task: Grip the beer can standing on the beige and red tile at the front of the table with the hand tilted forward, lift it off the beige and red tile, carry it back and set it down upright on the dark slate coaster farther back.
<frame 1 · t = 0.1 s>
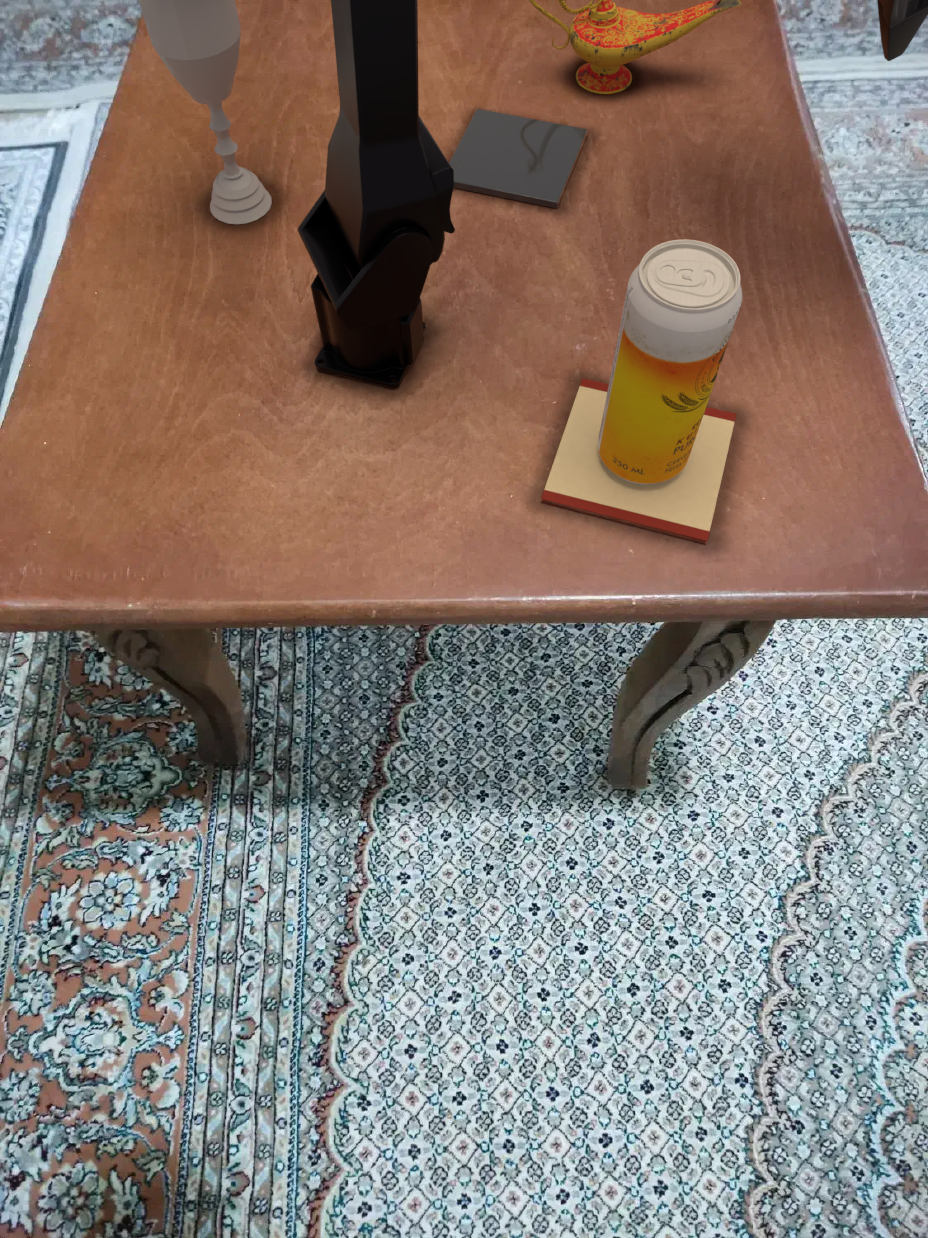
hand: (851, 18, 57), 15 cm above the table, tool pointing down, fingers open, 9 cm apart
beige and red tile: (640, 458, 60), on the table
coaster: (515, 159, 75), on the table
chalice: (241, 205, 73), on the table
magic lamp: (621, 80, 80), on the table
beer can: (641, 456, 60), resting on beige and red tile
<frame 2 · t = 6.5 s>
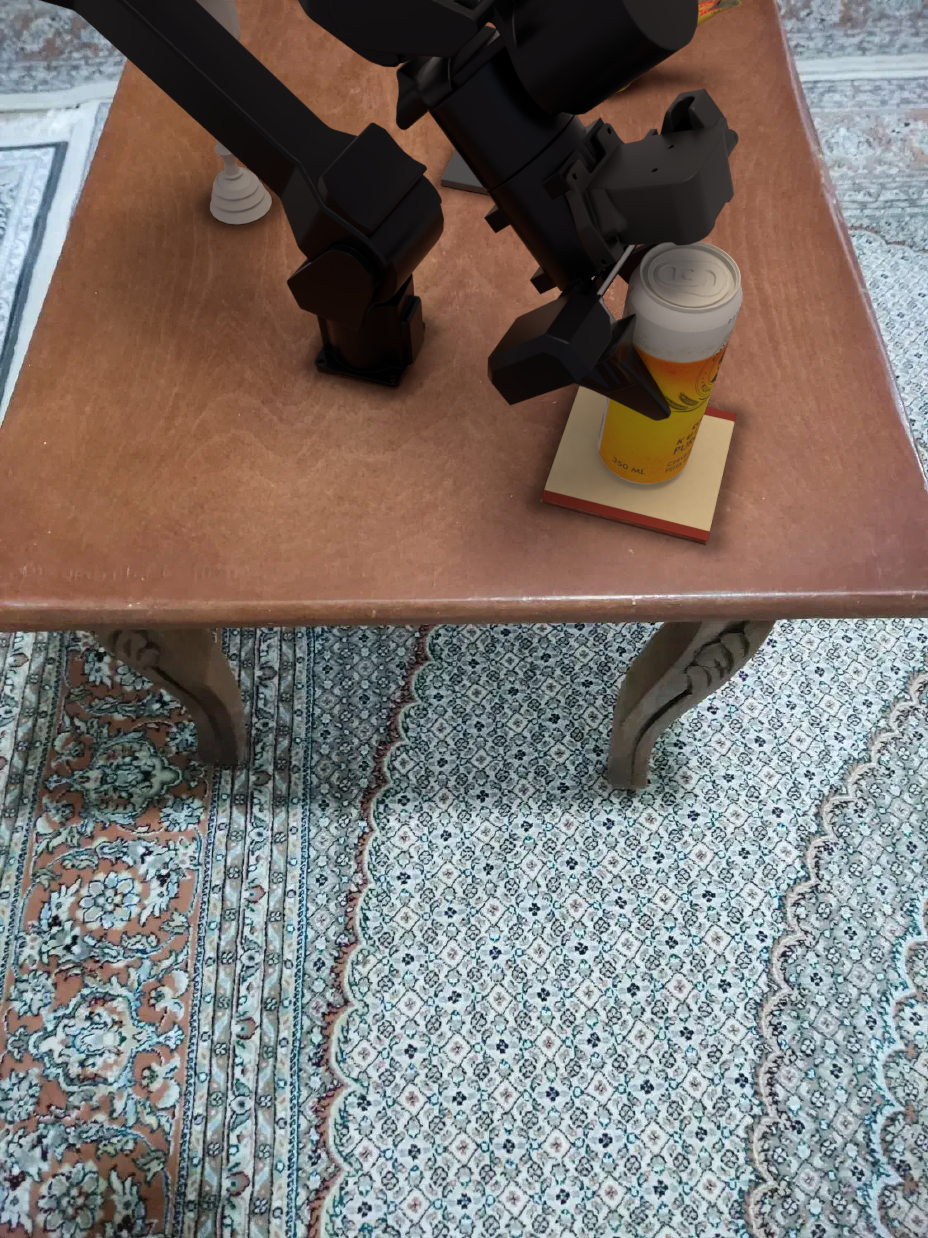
hand: (684, 381, 52), 8 cm above the table, tool tilted 45°, fingers closed on beer can, 6 cm apart
beer can: (641, 456, 60), resting on beige and red tile, touching gripper
everything else where it was.
when the fingers open (8 cm above the table, at t = 14.9 s): beer can stays where it is, resting on coaster.
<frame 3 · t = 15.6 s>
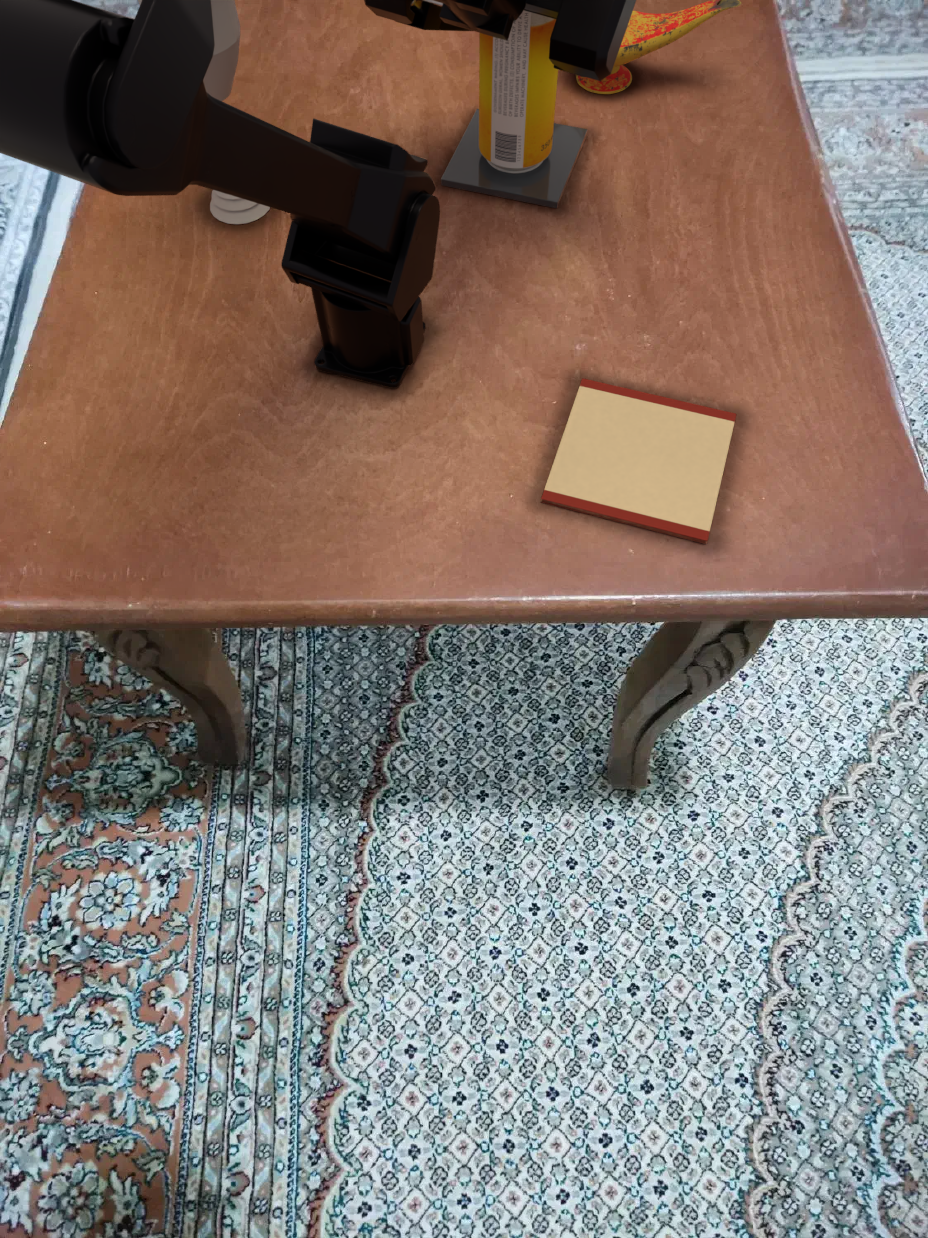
hand: (528, 38, 67), 9 cm above the table, tool tilted 45°, fingers open, 9 cm apart
beer can: (514, 156, 74), resting on coaster
everything else where it was.
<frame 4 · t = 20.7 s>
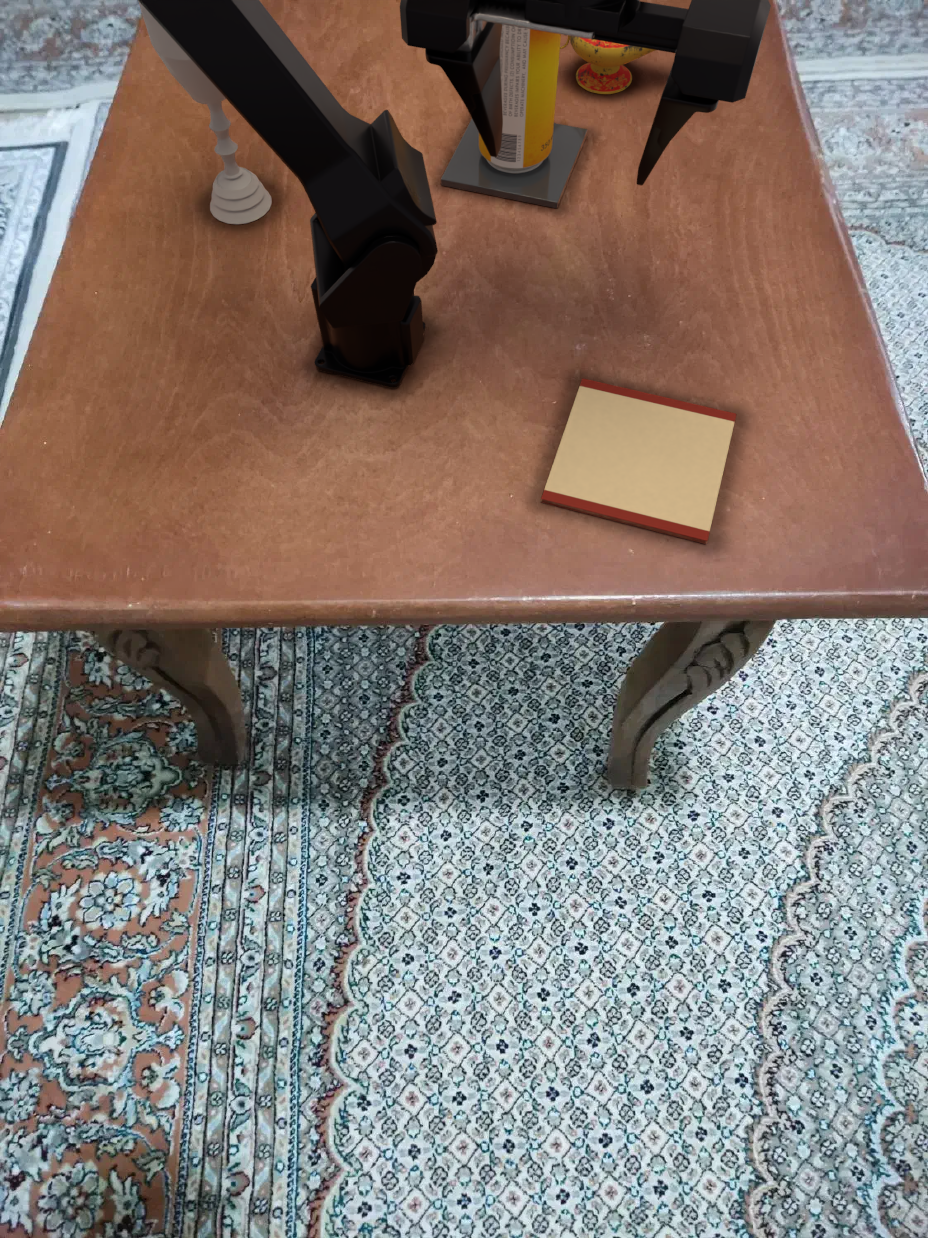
hand: (567, 166, 54), 13 cm above the table, tool pointing down, fingers open, 9 cm apart
nothing on the table moved.
at the end: beer can 0.2 cm off-centre on the coaster, point 0.4 cm above the coaster's base; beer can tilted 0°; beer can touching coaster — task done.
